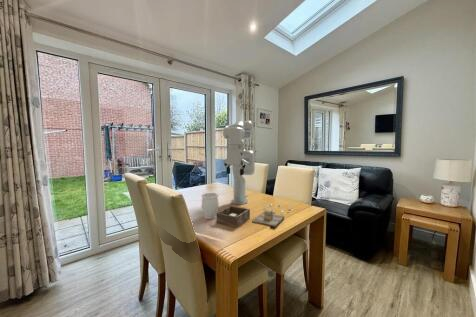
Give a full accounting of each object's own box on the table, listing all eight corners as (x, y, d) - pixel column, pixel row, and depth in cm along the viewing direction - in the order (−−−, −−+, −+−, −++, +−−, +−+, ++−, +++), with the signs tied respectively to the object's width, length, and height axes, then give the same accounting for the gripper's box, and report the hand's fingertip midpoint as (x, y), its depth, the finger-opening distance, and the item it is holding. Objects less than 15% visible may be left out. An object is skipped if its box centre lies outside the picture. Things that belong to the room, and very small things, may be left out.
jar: (202, 221, 132) (201, 197, 130) (201, 215, 142) (201, 193, 140) (219, 220, 134) (219, 196, 132) (217, 214, 144) (217, 192, 142)
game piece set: (271, 204, 166) (271, 199, 166) (295, 209, 154) (295, 204, 153) (257, 210, 152) (257, 205, 151) (282, 217, 139) (283, 211, 138)
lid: (263, 215, 142) (263, 204, 141) (284, 219, 135) (284, 208, 134) (251, 224, 128) (251, 212, 127) (274, 229, 121) (275, 217, 120)
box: (230, 215, 140) (230, 205, 140) (249, 220, 133) (249, 209, 133) (216, 224, 127) (216, 213, 126) (236, 229, 120) (236, 217, 119)
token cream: (232, 216, 136) (232, 213, 136) (237, 217, 134) (237, 214, 134) (228, 218, 133) (228, 215, 132) (234, 220, 131) (234, 216, 130)
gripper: (250, 147, 132) (249, 174, 134) (226, 146, 140) (226, 172, 142) (244, 147, 125) (244, 176, 127) (220, 147, 134) (220, 174, 136)
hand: (235, 174), depth 135 cm, fingers open, 9 cm apart
